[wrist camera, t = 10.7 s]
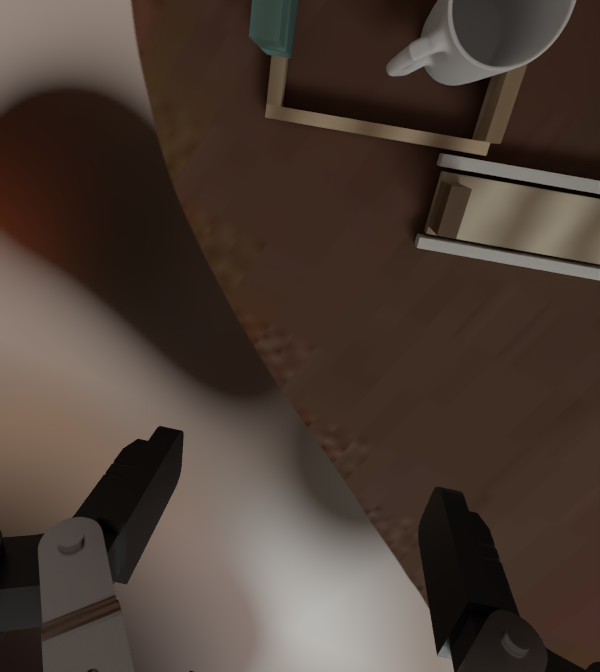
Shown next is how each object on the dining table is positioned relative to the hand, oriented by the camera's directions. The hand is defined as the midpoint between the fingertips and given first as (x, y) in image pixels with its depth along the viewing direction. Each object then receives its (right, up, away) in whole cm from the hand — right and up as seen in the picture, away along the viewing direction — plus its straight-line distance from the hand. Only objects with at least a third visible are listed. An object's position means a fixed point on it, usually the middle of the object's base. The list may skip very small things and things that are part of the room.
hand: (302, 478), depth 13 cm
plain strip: (+20, +15, +26) cm, 36 cm away
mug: (+11, +28, +21) cm, 37 cm away
